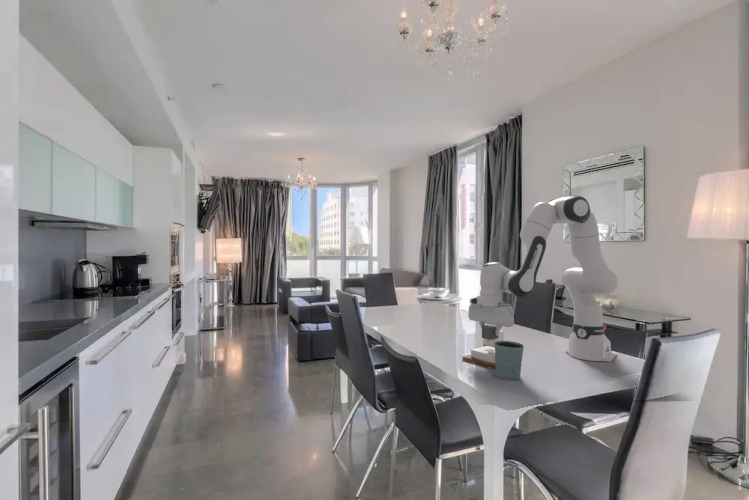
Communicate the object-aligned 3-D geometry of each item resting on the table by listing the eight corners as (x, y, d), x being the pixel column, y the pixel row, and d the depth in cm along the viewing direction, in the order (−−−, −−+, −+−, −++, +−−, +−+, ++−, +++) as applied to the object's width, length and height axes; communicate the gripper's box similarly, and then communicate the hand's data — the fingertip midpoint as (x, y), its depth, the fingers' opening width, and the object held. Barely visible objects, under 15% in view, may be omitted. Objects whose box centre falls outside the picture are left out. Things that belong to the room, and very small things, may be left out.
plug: (491, 339, 170) (491, 324, 170) (500, 341, 166) (500, 325, 166) (481, 341, 165) (481, 325, 165) (490, 343, 162) (490, 327, 162)
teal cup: (490, 372, 151) (490, 340, 151) (516, 371, 152) (516, 340, 152) (500, 381, 141) (500, 347, 141) (528, 380, 142) (528, 347, 142)
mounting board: (485, 353, 177) (485, 350, 177) (518, 362, 164) (518, 358, 164) (462, 360, 167) (462, 356, 167) (495, 369, 154) (495, 365, 154)
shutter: (489, 350, 168) (489, 348, 168) (495, 352, 166) (495, 350, 166) (484, 352, 166) (484, 350, 166) (490, 353, 163) (490, 351, 163)
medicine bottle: (491, 342, 197) (491, 318, 197) (503, 345, 192) (504, 321, 192) (482, 345, 193) (482, 320, 193) (495, 348, 187) (495, 322, 187)
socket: (486, 352, 173) (486, 344, 173) (509, 358, 165) (509, 349, 165) (471, 356, 166) (471, 348, 166) (493, 363, 158) (493, 354, 158)
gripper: (517, 303, 159) (516, 337, 159) (475, 297, 175) (475, 329, 175) (508, 304, 155) (508, 339, 155) (466, 298, 171) (466, 330, 171)
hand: (490, 334), depth 165 cm, fingers closed on plug, 4 cm apart
